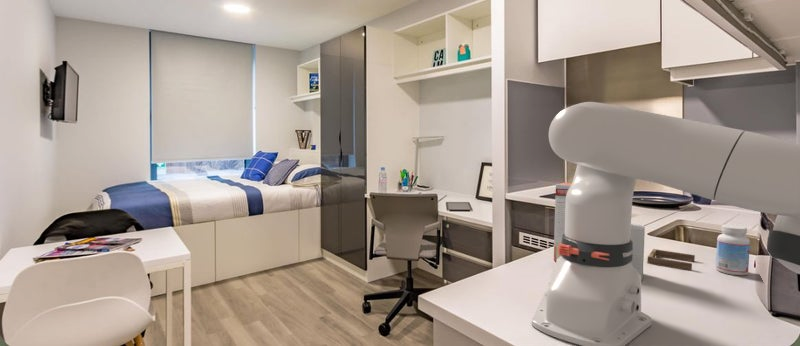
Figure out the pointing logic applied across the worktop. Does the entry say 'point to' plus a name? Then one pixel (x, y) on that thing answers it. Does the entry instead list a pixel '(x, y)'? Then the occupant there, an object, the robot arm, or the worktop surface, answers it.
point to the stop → (671, 262)
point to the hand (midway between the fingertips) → (771, 254)
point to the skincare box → (638, 247)
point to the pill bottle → (733, 250)
